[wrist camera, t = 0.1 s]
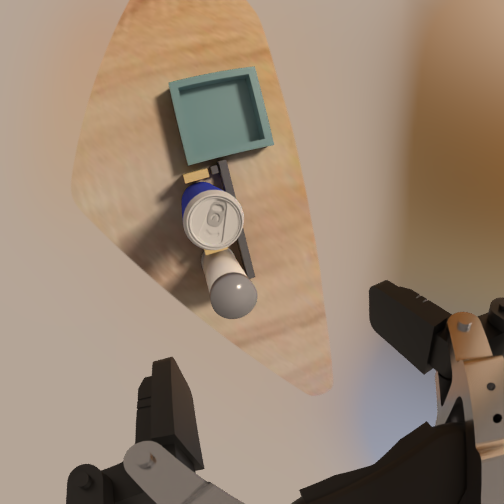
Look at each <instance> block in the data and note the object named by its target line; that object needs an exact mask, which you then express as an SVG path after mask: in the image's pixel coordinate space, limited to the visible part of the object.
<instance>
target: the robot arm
mask: <svg viewBox="0 0 504 504" xmlns="http://www.w3.org/2000/svg"><path fill="white" fill-rule="evenodd" d="M369 316H370V323H371V325H372V327H373V329H374V330H375V331H376V332H377V333H378V334H379V335H380V336H381V337H382V338H383V339H385V340H386V341H387V342H388V343H389V344H390V345H392V346H393V347H394V348H395V349H396V350H397V351H398V352H399V353H400V354H402V355H403V356H404V357H405V358H406V359H407V360H408V361H410V362H411V363H412V364H413V365H414V366H415V367H416V368H417V369H418V370H419V371H421V372H422V373H423V374H426V373H427V372H428V371H430V370H431V369H432V368H434V369H435V370H436V373H435V382H436V394H437V408H438V409H437V410H438V412H437V420H436V425H435V426H434V427H431V426H430V425H429V423H428V422H425V423H424V424H422V425H421V426H419V427H418V428H417V429H415V430H414V431H412V432H411V433H409V434H408V435H406V436H405V437H403V438H402V439H400V440H399V441H398V442H397V443H396V444H395V445H394V446H393V447H392V448H391V449H390V450H389V451H388V452H387V453H386V454H385V455H384V456H383V457H382V458H381V459H380V460H379V461H377V462H376V463H375V464H373V465H371V466H368V467H364V468H361V469H357V470H354V471H350V472H346V473H342V474H338V475H334V476H332V477H330V478H328V479H326V480H323V481H321V482H318V483H316V484H313V485H311V486H308V487H306V488H303V489H300V493H301V496H302V497H300V498H299V499H297V500H296V501H294V502H293V503H292V504H504V298H496V299H494V300H493V301H492V302H491V305H490V309H489V312H488V313H486V314H483V315H481V316H478V317H477V316H475V315H474V314H472V313H468V312H457V313H454V314H453V315H452V314H450V313H449V312H447V311H445V310H444V309H442V308H441V307H439V306H437V305H436V304H434V303H432V302H431V301H429V300H428V301H427V299H426V298H424V297H423V296H420V295H419V294H418V293H416V292H414V291H413V290H411V289H407V288H403V287H398V286H396V285H395V284H393V283H391V282H390V281H388V280H385V281H383V282H381V283H378V284H376V285H374V286H372V287H371V288H370V290H369ZM137 409H138V410H137V417H136V441H135V445H133V446H132V447H131V448H130V449H129V450H128V451H127V452H126V454H125V456H124V461H123V462H122V463H120V464H117V465H115V466H112V467H110V468H107V469H104V470H102V471H100V470H99V469H98V468H97V467H95V466H94V465H90V464H83V465H80V466H78V467H76V468H75V469H74V470H73V471H72V472H71V473H70V475H69V477H68V482H67V497H66V504H244V503H243V502H241V501H239V500H238V499H236V498H234V497H233V496H231V495H230V494H228V493H226V492H225V491H223V490H222V489H220V488H219V487H217V486H216V485H214V484H212V483H211V482H207V481H205V480H204V479H202V478H201V477H200V476H198V475H197V474H196V473H195V471H196V470H202V469H204V465H203V459H202V453H201V448H200V443H199V437H198V430H197V424H196V418H195V411H194V404H193V398H192V394H191V391H190V388H189V386H188V384H187V382H186V380H185V378H184V377H183V375H182V373H181V371H180V369H179V367H178V365H177V363H176V361H175V360H174V358H173V357H170V358H165V359H162V360H158V361H154V362H153V365H152V376H150V377H146V378H144V380H143V381H142V383H141V385H140V387H139V389H138V402H137Z"/></svg>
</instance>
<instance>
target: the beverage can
mask: <svg viewBox="0 0 504 504" xmlns="http://www.w3.org/2000/svg"><path fill="white" fill-rule="evenodd" d="M182 218H183V227H184V230H185V233H186V235H187V237H188V238H189V240H190V241H191V242H192V243H193V244H195V245H196V246H198V247H200V248H202V249H206V250H220V249H223V248H226V247H228V246H230V245H231V244H233V243H234V242H235V241H236V240H237V238H238V237H239V235H240V234H241V231H242V228H243V224H244V214H243V210H242V207H241V205H240V204H239V202H238V201H237V200H236V199H235V197H233V196H232V195H231V194H229V193H227V192H225V191H223V190H221V189H219V188H217V187H215V186H214V185H212V184H210V183H207V182H197V183H194V184H192V185H190V186H189V187H188V188H187V189H186V190H185V192H184V194H183V196H182Z"/></svg>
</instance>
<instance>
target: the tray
mask: <svg viewBox="0 0 504 504" xmlns="http://www.w3.org/2000/svg"><path fill="white" fill-rule="evenodd" d="M169 90H170V94H171V99H172V103H173V108H174V112H175V116H176V120H177V125H178V129H179V133H180V137H181V141H182V145H183V149H184V153H185V157H186V161H187V165H188V166H189V165H192V164H196V163H199V162H203V161H207V160H211V159H215V158H218V157H222V156H227V155H231V154H235V153H239V152H243V151H248V150H252V149H257V148H262V147H266V146H271V145H274V142H273V138H272V134H271V129H270V125H269V121H268V117H267V113H266V109H265V105H264V101H263V97H262V93H261V89H260V85H259V81H258V77H257V73H256V70H255V66H254V67H246V68H239V69H232V70H226V71H220V72H215V73H209V74H204V75H199V76H195V77H190V78H186V79H182V80H177V81H173V82H170V83H169Z"/></svg>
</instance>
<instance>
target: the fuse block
mask: <svg viewBox="0 0 504 504" xmlns="http://www.w3.org/2000/svg"><path fill="white" fill-rule="evenodd" d="M217 164H218V167H217V165H214V166H211V167H210V171H211V174H216V173H219V172H220V176H221V180H222V184H223V188H224V191H225V192H227V193H229V194H231V195H232V196H233V197H235V193H234V189H233V185H232V181H231V177H230V173H229V169H228V165H227V161H226V160H222V161H218V162H217ZM218 168H219V171H218ZM183 177H184V181H185V184H186V183H189V182H193V181H196V180H200V179H203V178H207V177H209V173H208V169H207V168H203V169H200V170H196V171H192V172H189V173H185V174H183ZM235 199H236V197H235ZM237 243H238V247H239V251H240V254H241V258H242V262H243V266H244V270H245V274H246V275H247V277H248V278H249V279H251V278H254V277H255V274H254V270H253V266H252V262H251V258H250V254H249V250H248V246H247V242H246V238H245V234H244V230H243V228H242V231H241V234H240V235H239V237H238V238H237ZM226 249H228V247H226V248H223V249H220V250H206V249H204V251H205V254H206V255H209V254H212V253H216V252H219V251H222V250H226Z"/></svg>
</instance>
